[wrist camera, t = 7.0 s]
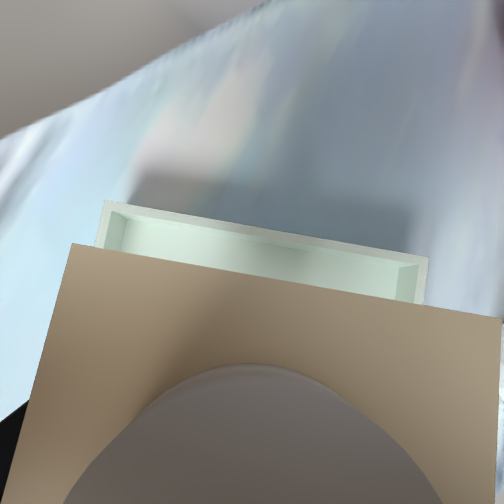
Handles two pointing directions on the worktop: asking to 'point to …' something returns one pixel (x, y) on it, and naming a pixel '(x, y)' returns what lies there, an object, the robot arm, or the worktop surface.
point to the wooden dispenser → (253, 393)
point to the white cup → (502, 366)
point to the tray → (262, 252)
